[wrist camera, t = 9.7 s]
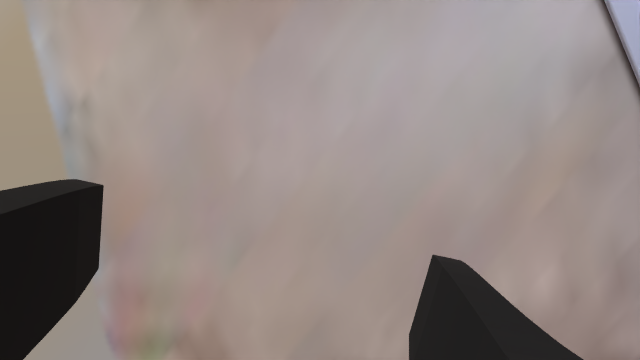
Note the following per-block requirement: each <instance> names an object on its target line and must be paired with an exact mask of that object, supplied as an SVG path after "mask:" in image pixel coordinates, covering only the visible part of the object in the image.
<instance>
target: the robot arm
mask: <svg viewBox="0 0 640 360" xmlns="http://www.w3.org/2000/svg"><path fill="white" fill-rule="evenodd" d="M604 1H605V3H606V6H607V8H608V11H609V13H610V15H611V18H612V20H613V23H614V25H615V28H616V30H617V32H618V35H619V37H620V40H621V42H622V44H623V47H624V49H625V52H626V54H627V57H628V59H629V61H630V64H631V66H632V69H633V71H634V74H635V76H636V78H637V81H638V83H639V86H640V0H604ZM102 202H103V185H101V184H96V183H91V182H86V181H82V180H77V179H70V180H58V181H51V182H45V183H40V184H34V185H28V186H23V187H18V188H13V189H8V190H2V191H0V360H23V359H24V358H25V357H26V356H27V355H28V354H29V353H30V352H31V350H32V349H33V348H34V347H35V346H36V345H37V344H38V343H39V342H40V341H41V340H42V339H43V338H44V337H45V336H46V334H47V333H48V332H49V331H50V330H51V329H52V328H53V327H54V326H55V325H56V323H58V321H59V320H60V319H61V318H62V317H63V316H64V315H65V314H66V313H67V311H68V310H69V309H70V308H71V307H72V306H73V305H74V304H75V302H76V301H77V300H78V298H79V297H80V295H81V294H82V293H83V291H84V290H85V288H86V287H87V285H88V284H89V282H90V281H91V279H92V278H93V276H94V275H95V273H96V272H97V270H98V268H99V252H100V236H101V219H102ZM409 360H583V359H582V358H580V357H579V356H577V355H576V354H574V353H573V352H571V351H570V350H568V349H567V348H566V347H564V346H563V345H562V344H560V343H559V342H557V341H556V340H555V339H553V338H552V337H551V336H550V335H548V334H547V333H546V332H545V331H543V330H542V329H541V328H540V327H538V326H537V325H536V324H535V323H533V322H532V321H531V320H530V319H528V318H527V317H526V316H525V315H524V314H522V313H521V312H520V311H519V310H518V309H517V308H516V307H514V306H513V305H512V304H511V303H510V302H509V301H508V300H506V299H505V298H504V297H503V296H502V295H501V294H500V293H499V292H498V291H496V290H495V289H494V288H493V287H492V286H491V285H490V284H489V283H488V282H487V281H485V280H484V279H483V278H482V277H481V276H480V275H479V274H478V273H477V272H475V271H474V270H473V269H472V268H471V267H469V266H468V265H467V264H466V263H464V262H462V261H461V260H456V259H451V258H447V257H442V256H437V255H432V259H431V262H430V265H429V269H428V272H427V276H426V279H425V282H424V286H423V289H422V293H421V296H420V299H419V303H418V306H417V310H416V313H415V316H414V320H413V323H412V326H411V330H410V333H409Z"/></svg>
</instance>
